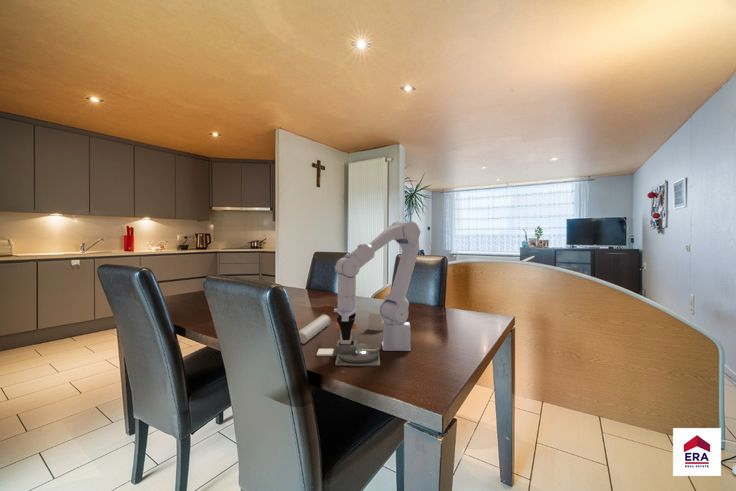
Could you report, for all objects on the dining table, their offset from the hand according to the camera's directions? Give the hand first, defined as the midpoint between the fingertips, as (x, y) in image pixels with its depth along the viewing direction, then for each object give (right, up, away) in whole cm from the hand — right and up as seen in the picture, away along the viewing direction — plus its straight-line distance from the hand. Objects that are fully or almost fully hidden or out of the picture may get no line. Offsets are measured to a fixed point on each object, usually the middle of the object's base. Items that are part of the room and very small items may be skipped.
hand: (346, 337), depth 101 cm
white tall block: (0, -3, 0) cm, 3 cm away
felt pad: (-7, -6, +3) cm, 10 cm away
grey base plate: (+4, -6, 0) cm, 7 cm away
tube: (-15, -6, +23) cm, 28 cm away
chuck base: (+4, -6, 0) cm, 7 cm away
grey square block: (+10, -6, +30) cm, 32 cm away
